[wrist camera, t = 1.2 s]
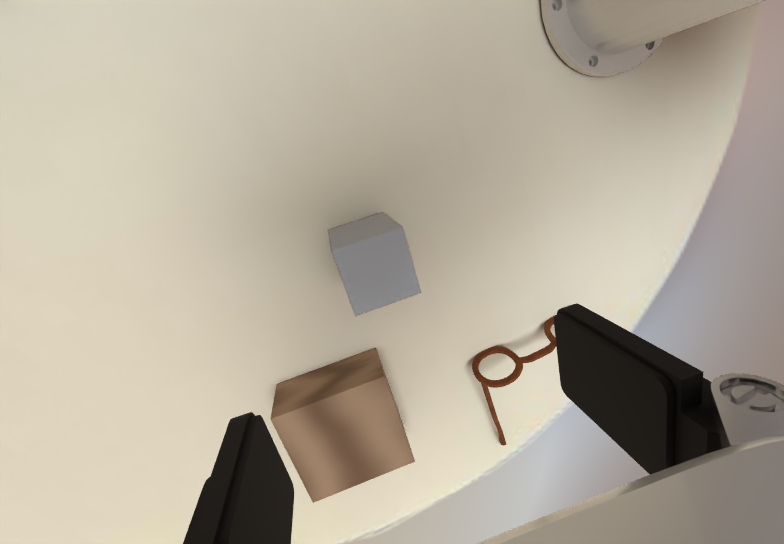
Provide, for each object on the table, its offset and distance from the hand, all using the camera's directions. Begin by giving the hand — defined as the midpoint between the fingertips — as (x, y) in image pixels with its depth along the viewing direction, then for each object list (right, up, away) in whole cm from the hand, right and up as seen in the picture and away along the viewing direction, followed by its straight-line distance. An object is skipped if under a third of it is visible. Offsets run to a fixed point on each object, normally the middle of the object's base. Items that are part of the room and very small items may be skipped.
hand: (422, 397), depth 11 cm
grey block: (-3, +6, +21) cm, 23 cm away
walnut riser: (-6, -10, +26) cm, 28 cm away
